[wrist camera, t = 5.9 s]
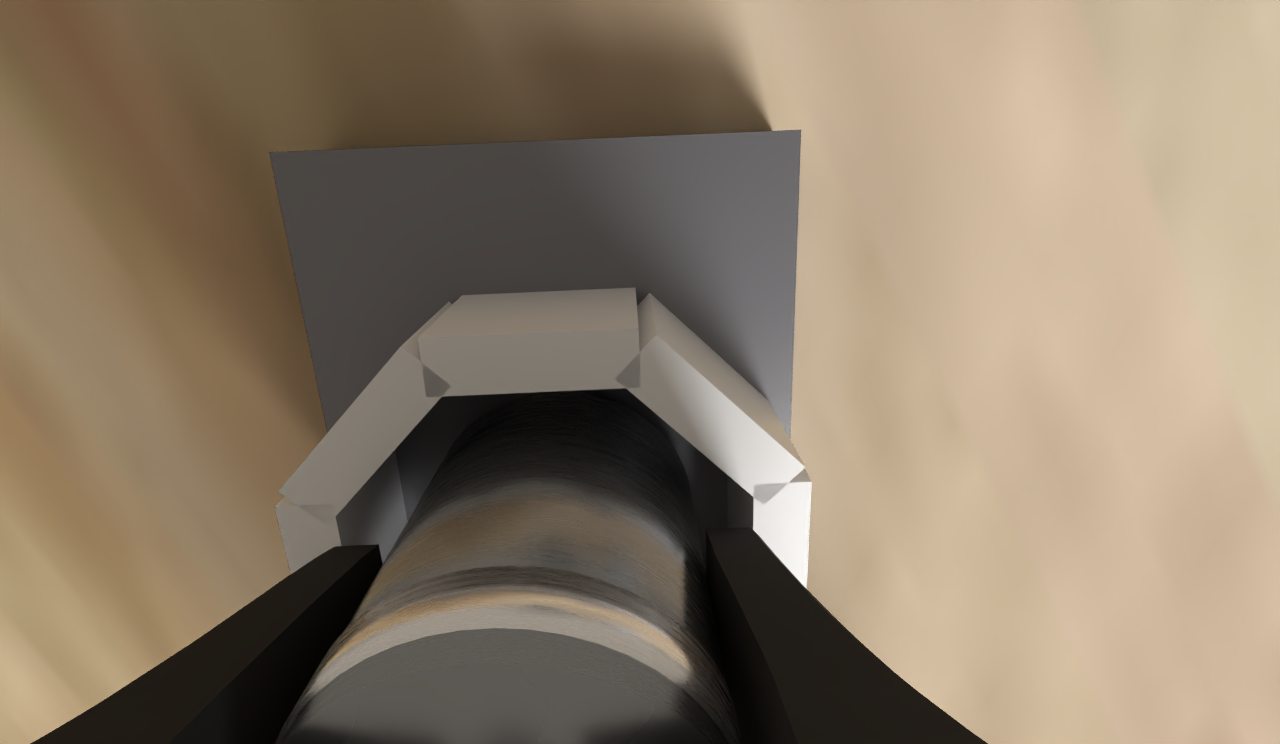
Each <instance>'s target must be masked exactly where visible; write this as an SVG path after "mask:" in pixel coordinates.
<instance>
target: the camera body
mask: <svg viewBox="0 0 1280 744" xmlns="http://www.w3.org/2000/svg"><path fill="white" fill-rule="evenodd" d="M800 146H801V130H785V131H761V132H737V133H714V134H690V135H667V136H643V137H620V138H596V139H572V140H549V141H525V142H502V143H478V144H455V145H431V146H407V147H384V148H360V149H337V150H313V151H289V152H269V154H270V158H271V163H272V168H273V173H274V178H275V183H276V187H277V192H278V197H279V202H280V207H281V211H282V216H283V221H284V226H285V231H286V236H287V240H288V245H289V250H290V255H291V260H292V265H293V269H294V274H295V279H296V284H297V289H298V293H299V298H300V303H301V308H302V313H303V318H304V322H305V327H306V332H307V337H308V342H309V347H310V351H311V356H312V361H313V366H314V371H315V375H316V380H317V385H318V390H319V395H320V400H321V404H322V409H323V414H324V419H325V424H326V429H327V434H326V435H325V436H324V438H323V439H322V440H321V441H320V442H319V444H318V445H317V446H316V447H315V448H314V449H313V451H312V452H311V453H310V454H309V455H308V457H307V458H306V459H305V460H304V461H303V462H302V464H301V465H300V466H299V467H298V468H297V470H296V471H295V472H294V473H293V474H292V475H291V477H290V478H289V479H288V480H287V481H286V483H285V484H284V485H283V486H282V487H281V488H280V490H279V491H278V492H279V493H280V494H282V495H283V496H284V497H283V498H282V499H281V500H280V501H279V502H278V503H277V504H276V505H275V507H274V508H275V512H276V516H277V520H278V524H279V528H280V532H281V536H282V540H283V544H284V548H285V553H286V557H287V561H288V565H289V569H290V573H291V574H292V573H294V572H295V571H297V570H298V569H300V568H301V567H302V566H304V565H305V564H307V563H309V562H310V561H312V560H313V559H315V558H316V557H318V556H319V555H321V554H323V553H324V552H326V551H328V550H329V549H331V548H333V547H335V546H355V545H376V544H379V548H380V553H381V558H382V564H383V563H384V561H385V560H386V558H387V556H388V554H389V553H390V551H391V549H392V548H393V546H394V544H395V542H396V541H397V539H398V537H399V535H400V534H401V532H402V530H403V528H404V527H405V525H406V523H407V521H408V520H409V518H410V516H411V514H412V513H413V511H414V509H415V507H416V506H417V504H418V502H419V501H420V499H421V497H422V495H423V494H424V492H425V490H426V488H427V487H428V485H429V483H430V481H431V480H432V478H433V476H434V474H435V473H436V471H437V469H438V467H439V466H440V464H441V462H442V461H443V459H444V457H445V455H446V454H447V452H448V450H449V449H450V447H451V446H452V444H453V443H454V441H455V440H456V439H457V437H458V436H459V435H460V434H461V433H462V432H463V430H464V429H465V428H466V427H467V426H469V425H470V424H471V423H472V422H473V421H474V420H475V419H477V418H478V417H479V416H481V415H482V414H484V413H485V412H487V411H488V410H490V409H491V408H493V407H495V406H498V405H500V404H502V403H504V402H506V401H508V400H511V399H514V398H517V397H520V396H523V395H528V394H533V393H539V392H553V391H573V392H581V393H587V394H593V395H597V396H600V397H603V398H606V399H610V400H613V401H615V402H617V403H619V404H621V405H624V406H626V407H628V408H630V409H631V410H633V411H635V412H636V413H638V414H639V415H641V416H643V417H644V418H645V419H646V420H648V421H649V422H650V423H651V424H653V425H654V426H655V427H656V428H657V429H658V430H659V431H660V432H661V433H662V434H663V435H664V436H665V437H666V438H667V440H668V441H669V442H670V444H671V445H672V446H673V448H674V449H675V451H676V452H677V454H678V456H679V458H680V460H681V462H682V463H683V465H684V468H685V471H686V474H687V476H688V479H689V483H690V488H691V493H692V499H693V504H694V510H695V515H696V521H697V526H698V532H699V537H700V543H701V548H702V554H703V559H704V565H705V571H706V529H716V528H737V527H751V528H752V529H753V530H754V531H755V532H756V533H757V534H758V535H759V536H760V537H761V539H762V540H763V541H764V542H765V543H766V544H767V546H768V547H769V548H770V549H771V550H772V551H773V552H774V554H775V555H776V556H777V557H778V558H779V559H780V560H781V562H782V563H783V564H784V565H785V566H786V567H787V568H788V569H789V570H790V572H791V573H792V574H793V575H794V576H795V577H796V578H797V579H798V580H799V581H800V582H801V584H802V585H803V586H804V587H805V588H806V589H807V570H808V549H809V528H810V507H811V485H812V481H811V480H810V478H809V476H808V474H807V472H806V470H805V469H804V468H805V465H804V464H803V462H802V460H801V458H800V456H799V455H798V453H797V451H796V449H795V447H794V446H793V444H792V442H791V440H790V432H791V403H792V375H793V346H794V317H795V289H796V260H797V231H798V203H799V174H800Z"/></svg>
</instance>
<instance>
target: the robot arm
mask: <svg viewBox="0 0 1280 744" xmlns="http://www.w3.org/2000/svg"><path fill="white" fill-rule="evenodd" d="M382 565H383V564H382V558H381V553H380V548H379V544H376V545H355V546H335V547H333V548H331V549H329V550H328V551H326V552H324V553H323V554H321V555H319V556H318V557H316V558H315V559H313V560H312V561H310V562H309V563H307V564H305V565H304V566H302V567H301V568H300V569H298V570H297V571H295V572H294V573H292V574H291V575H289V576H288V577H286V578H285V579H284V580H282V581H281V582H279V583H278V584H276V585H275V586H273V587H272V588H271V589H269V590H268V591H266V592H265V593H264V594H262V595H261V596H259V597H258V598H256V599H255V600H254V601H252V602H251V603H249V604H248V605H246V606H245V607H243V608H242V609H241V610H239V611H238V612H236V613H235V614H233V615H232V616H230V617H229V618H228V619H226V620H225V621H223V622H222V623H220V624H219V625H217V626H216V627H215V628H213V629H212V630H210V631H209V632H207V633H206V634H205V635H203V636H202V637H200V638H199V639H197V640H196V641H194V642H193V643H191V644H190V645H188V646H187V647H185V648H184V649H182V650H181V651H179V652H177V653H176V654H174V655H173V656H171V657H170V658H168V659H167V660H165V661H164V662H162V663H160V664H159V665H157V666H156V667H154V668H153V669H151V670H150V671H148V672H147V673H145V674H144V675H142V676H140V677H139V678H137V679H136V680H134V681H133V682H131V683H130V684H128V685H127V686H125V687H123V688H122V689H120V690H119V691H117V692H116V693H114V694H113V695H111V696H110V697H108V698H107V699H105V700H103V701H102V702H100V703H98V704H97V705H95V706H94V707H92V708H90V709H89V710H87V711H85V712H84V713H82V714H81V715H79V716H77V717H75V718H74V719H72V720H70V721H69V722H67V723H65V724H64V725H62V726H60V727H59V728H57V729H55V730H54V731H52V732H50V733H48V734H47V735H45V736H43V737H41V738H40V739H38V740H36V741H34V742H33V743H31V744H275V742H276V740H277V737H278V735H279V733H280V731H281V729H282V727H283V726H284V724H285V722H286V721H287V719H288V717H289V715H290V714H291V712H292V710H293V709H294V707H295V705H296V703H297V702H298V700H299V698H300V697H301V695H302V693H303V692H304V690H305V688H306V686H307V685H308V683H309V681H310V680H311V678H312V676H313V674H314V673H315V671H316V669H317V668H318V666H319V664H320V663H321V661H322V660H323V658H324V656H325V655H326V653H327V652H328V650H329V649H330V647H331V645H332V644H333V643H334V642H335V641H336V640H337V639H338V637H339V636H340V635H341V634H342V633H343V632H344V631H345V629H346V628H347V626H348V624H349V622H350V621H351V619H352V617H353V615H354V614H355V612H356V610H357V608H358V607H359V605H360V603H361V601H362V600H363V598H364V596H365V595H366V593H367V591H368V589H369V588H370V586H371V584H372V582H373V581H374V579H375V577H376V575H377V574H378V572H379V570H380V568H381V567H382ZM706 576H707V582H708V587H709V593H710V598H711V604H712V609H713V615H714V620H715V626H716V631H717V637H718V642H719V648H720V653H721V659H722V664H723V670H724V675H725V680H726V683H727V685H728V688H729V691H730V693H731V696H732V699H733V701H734V705H735V710H736V715H737V720H738V726H739V731H740V736H741V741H742V744H988V743H986V742H985V741H983V740H982V739H980V738H979V737H978V736H976V735H975V734H973V733H972V732H971V731H969V730H968V729H966V728H965V727H964V726H963V725H961V724H960V723H959V722H957V721H956V720H955V719H953V718H952V717H951V716H949V715H948V714H947V713H945V712H944V711H943V710H941V709H940V708H939V707H937V706H936V705H935V704H934V703H932V702H931V701H930V700H928V699H927V698H926V697H924V696H923V695H922V694H920V693H919V692H918V691H916V690H915V689H914V688H913V687H912V686H910V685H909V684H908V683H907V682H905V681H904V680H903V679H902V678H900V677H899V676H898V675H897V674H896V673H894V672H893V671H892V670H891V669H890V668H889V667H888V666H887V665H885V664H884V663H883V662H882V661H881V660H880V659H879V658H878V657H876V656H875V655H874V654H873V653H872V652H871V651H870V650H869V649H867V648H866V647H865V646H864V645H863V644H862V643H861V642H860V641H859V640H858V639H857V638H856V637H854V636H853V635H852V634H851V633H850V632H849V631H848V630H847V629H846V628H845V627H844V626H843V625H842V624H841V623H840V622H839V621H838V620H837V619H836V618H835V617H834V616H833V615H832V614H831V613H830V612H829V611H828V610H827V609H826V608H825V607H824V606H823V605H822V604H821V603H820V602H819V601H818V600H817V599H816V598H815V597H814V596H813V595H812V594H811V593H810V592H809V591H808V590H807V589H806V588H805V587H804V586H803V585H802V584H801V582H800V581H799V580H798V579H797V578H796V577H795V576H794V575H793V574H792V573H791V572H790V570H789V569H788V568H787V567H786V566H785V565H784V564H783V563H782V562H781V560H780V559H779V558H778V557H777V556H776V555H775V554H774V552H773V551H772V550H771V549H770V548H769V547H768V546H767V544H766V543H765V542H764V541H763V540H762V539H761V537H760V536H759V535H758V534H757V533H756V532H755V531H754V530H753V529H752V528H751V527H737V528H716V529H706Z"/></svg>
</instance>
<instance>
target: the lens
mask: <svg viewBox="0 0 1280 744" xmlns="http://www.w3.org/2000/svg"><path fill="white" fill-rule="evenodd" d="M275 744H742V741H741V736H740V731H739V726H738V720H737V715H736V710H735V705H734V701H733V699H732V696H731V693H730V691H729V688H728V685H727V683H726V680H725V675H724V670H723V664H722V659H721V653H720V648H719V642H718V637H717V631H716V626H715V620H714V615H713V609H712V604H711V598H710V593H709V587H708V582H707V576H706V571H705V565H704V559H703V554H702V548H701V543H700V537H699V532H698V526H697V521H696V515H695V510H694V504H693V499H692V493H691V488H690V483H689V479H688V476H687V474H686V471H685V468H684V465H683V463H682V462H681V460H680V458H679V456H678V454H677V452H676V451H675V449H674V448H673V446H672V445H671V444H670V442H669V441H668V440H667V438H666V437H665V436H664V435H663V434H662V433H661V432H660V431H659V430H658V429H657V428H656V427H655V426H654V425H653V424H651V423H650V422H649V421H648V420H646V419H645V418H644V417H643V416H641V415H639V414H638V413H636V412H635V411H633V410H631V409H630V408H628V407H626V406H624V405H621V404H619V403H617V402H615V401H613V400H610V399H606V398H603V397H600V396H597V395H593V394H587V393H581V392H573V391H553V392H539V393H533V394H528V395H523V396H520V397H517V398H514V399H511V400H508V401H506V402H504V403H502V404H500V405H498V406H495V407H493V408H491V409H490V410H488V411H487V412H485V413H484V414H482V415H481V416H479V417H478V418H477V419H475V420H474V421H473V422H472V423H471V424H470V425H469V426H467V427H466V428H465V429H464V430H463V432H462V433H461V434H460V435H459V436H458V437H457V439H456V440H455V441H454V443H453V444H452V446H451V447H450V449H449V450H448V452H447V454H446V455H445V457H444V459H443V461H442V462H441V464H440V466H439V467H438V469H437V471H436V473H435V474H434V476H433V478H432V480H431V481H430V483H429V485H428V487H427V488H426V490H425V492H424V494H423V495H422V497H421V499H420V501H419V502H418V504H417V506H416V507H415V509H414V511H413V513H412V514H411V516H410V518H409V520H408V521H407V523H406V525H405V527H404V528H403V530H402V532H401V534H400V535H399V537H398V539H397V541H396V542H395V544H394V546H393V548H392V549H391V551H390V553H389V554H388V556H387V558H386V560H385V561H384V563H383V565H382V567H381V568H380V570H379V572H378V574H377V575H376V577H375V579H374V581H373V582H372V584H371V586H370V588H369V589H368V591H367V593H366V595H365V596H364V598H363V600H362V601H361V603H360V605H359V607H358V608H357V610H356V612H355V614H354V615H353V617H352V619H351V621H350V622H349V624H348V626H347V628H346V629H345V631H344V632H343V633H342V634H341V635H340V636H339V637H338V639H337V640H336V641H335V642H334V643H333V644H332V645H331V647H330V649H329V650H328V652H327V653H326V655H325V656H324V658H323V660H322V661H321V663H320V664H319V666H318V668H317V669H316V671H315V673H314V674H313V676H312V678H311V680H310V681H309V683H308V685H307V686H306V688H305V690H304V692H303V693H302V695H301V697H300V698H299V700H298V702H297V703H296V705H295V707H294V709H293V710H292V712H291V714H290V715H289V717H288V719H287V721H286V722H285V724H284V726H283V727H282V729H281V731H280V733H279V735H278V737H277V740H276V742H275Z"/></svg>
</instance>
